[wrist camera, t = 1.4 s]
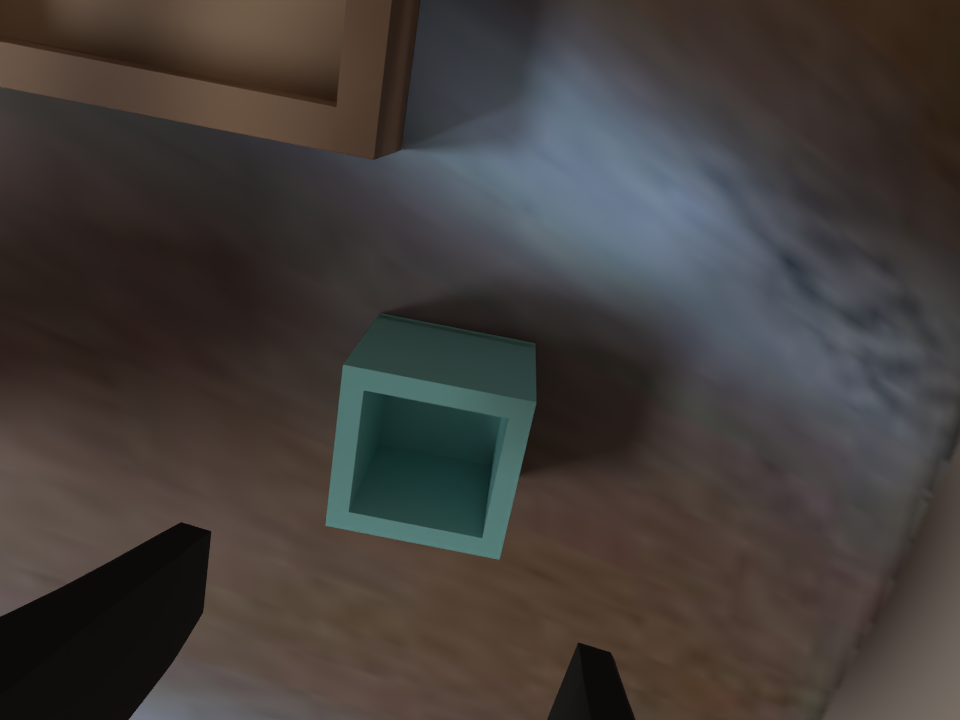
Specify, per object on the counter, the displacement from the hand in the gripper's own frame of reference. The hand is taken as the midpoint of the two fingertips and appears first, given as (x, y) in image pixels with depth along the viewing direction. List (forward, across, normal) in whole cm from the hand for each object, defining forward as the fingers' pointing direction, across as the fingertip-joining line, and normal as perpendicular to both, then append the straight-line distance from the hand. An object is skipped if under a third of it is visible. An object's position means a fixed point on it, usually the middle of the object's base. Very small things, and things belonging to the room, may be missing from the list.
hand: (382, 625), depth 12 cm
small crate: (+10, +1, 0) cm, 10 cm away
